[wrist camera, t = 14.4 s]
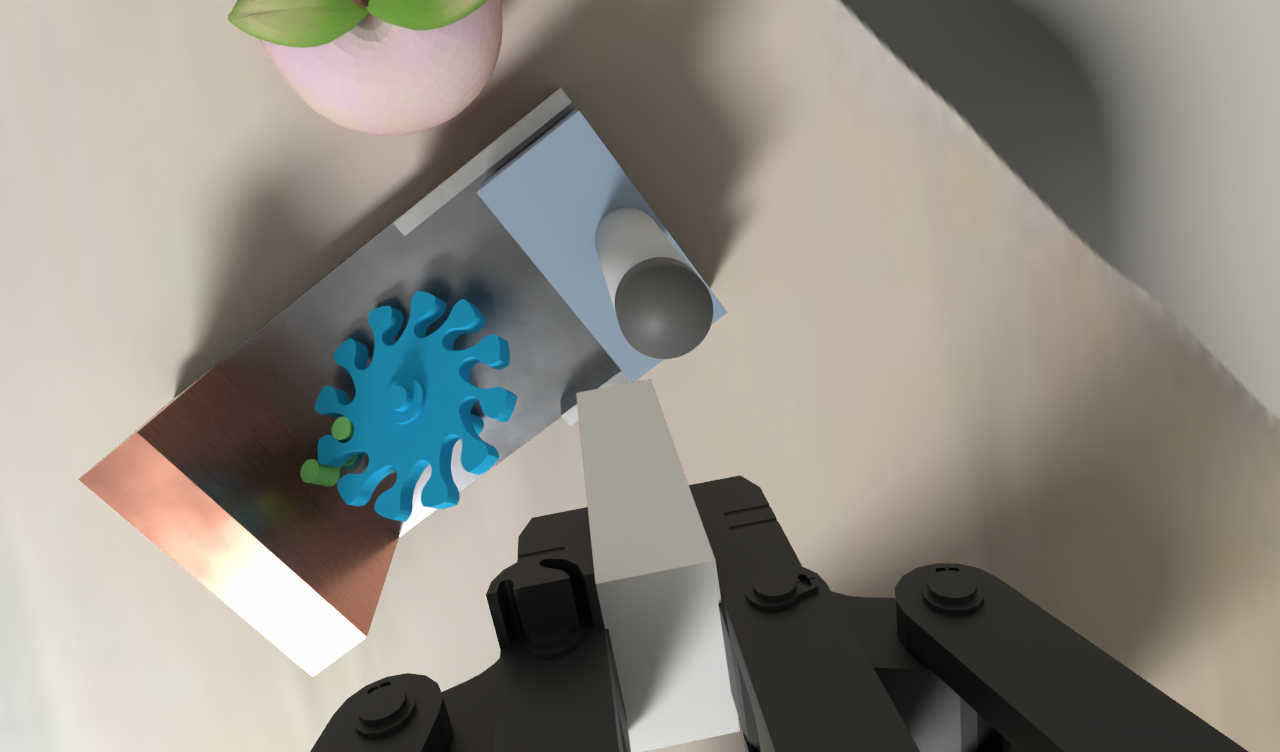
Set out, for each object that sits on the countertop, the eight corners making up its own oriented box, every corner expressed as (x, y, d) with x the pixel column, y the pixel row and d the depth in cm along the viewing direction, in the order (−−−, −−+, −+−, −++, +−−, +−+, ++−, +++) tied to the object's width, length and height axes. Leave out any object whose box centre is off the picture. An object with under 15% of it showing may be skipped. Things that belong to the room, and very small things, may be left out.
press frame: (709, 290, 41) (757, 351, 32) (348, 560, 44) (294, 689, 34) (559, 87, 37) (564, 88, 28) (173, 398, 40) (59, 495, 30)
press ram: (706, 285, 38) (808, 413, 24) (622, 349, 39) (669, 513, 24) (574, 107, 35) (596, 123, 20) (485, 179, 36) (442, 247, 21)
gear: (458, 244, 35) (531, 446, 31) (527, 292, 40) (597, 471, 36) (266, 367, 38) (311, 570, 34) (355, 398, 43) (402, 576, 39)
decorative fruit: (348, 156, 37) (282, 180, 28) (263, -35, 34) (157, -80, 25) (543, 87, 37) (543, 88, 28) (474, -110, 34) (448, -184, 25)
